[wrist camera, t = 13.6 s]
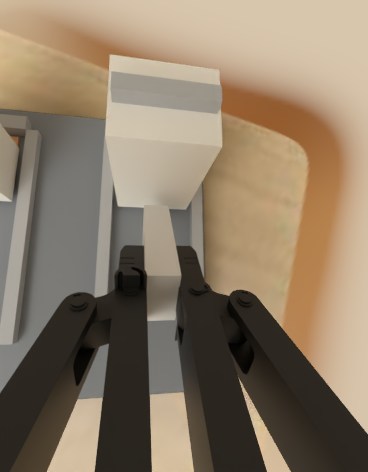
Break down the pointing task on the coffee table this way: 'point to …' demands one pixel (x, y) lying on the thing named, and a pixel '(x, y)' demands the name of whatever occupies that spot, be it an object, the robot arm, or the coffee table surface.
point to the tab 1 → (7, 165)
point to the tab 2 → (161, 130)
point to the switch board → (74, 240)
